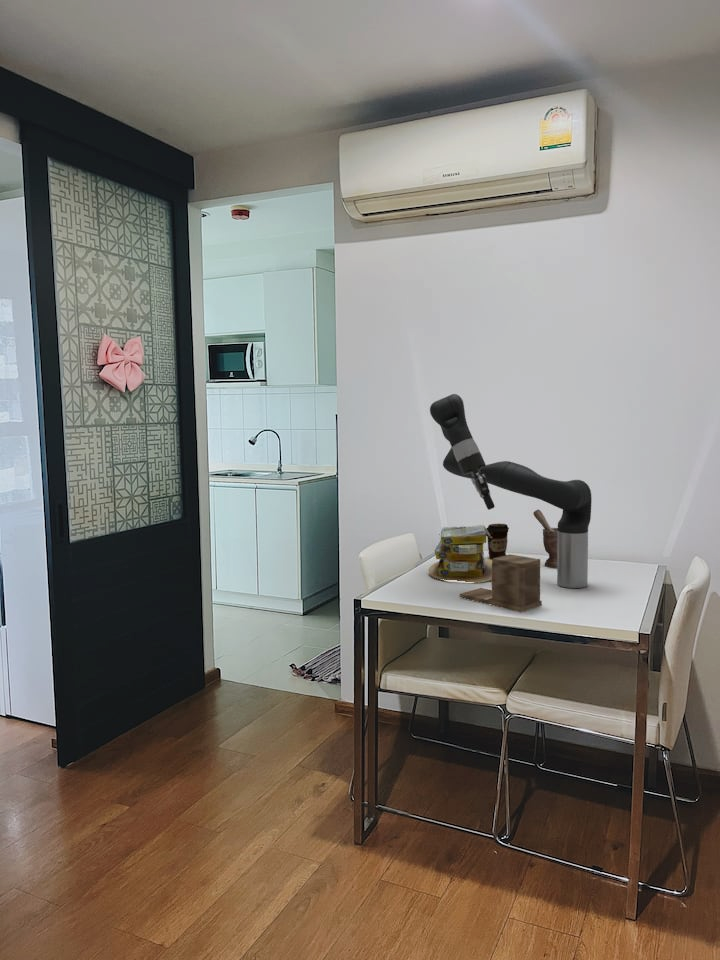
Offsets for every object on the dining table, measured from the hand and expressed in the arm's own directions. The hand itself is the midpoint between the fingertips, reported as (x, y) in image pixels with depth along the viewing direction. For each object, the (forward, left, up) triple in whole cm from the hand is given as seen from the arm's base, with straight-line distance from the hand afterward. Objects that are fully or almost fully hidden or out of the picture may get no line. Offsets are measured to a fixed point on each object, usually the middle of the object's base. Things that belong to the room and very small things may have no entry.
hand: (491, 508), depth 219 cm
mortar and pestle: (-38, +26, -27) cm, 53 cm away
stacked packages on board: (-26, -6, -27) cm, 38 cm away
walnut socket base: (+8, +1, -26) cm, 27 cm away
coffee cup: (-50, +9, -27) cm, 58 cm away
